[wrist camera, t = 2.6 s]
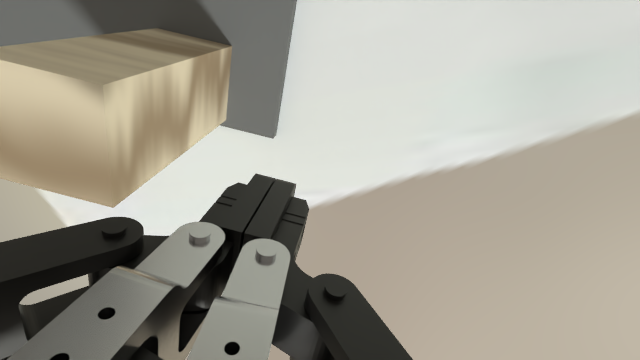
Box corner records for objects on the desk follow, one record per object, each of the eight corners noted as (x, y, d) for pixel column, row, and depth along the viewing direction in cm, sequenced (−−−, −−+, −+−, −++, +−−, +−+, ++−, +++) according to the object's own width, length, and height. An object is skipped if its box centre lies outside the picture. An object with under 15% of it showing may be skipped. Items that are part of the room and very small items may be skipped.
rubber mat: (-46, -101, 22) (-60, -104, 21) (299, -21, 21) (297, -22, 20) (-9, 64, 26) (-19, 66, 26) (275, 134, 26) (273, 138, 25)
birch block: (157, 28, 23) (-37, 50, 12) (232, 46, 23) (102, 85, 12) (158, 103, 25) (-4, 177, 14) (226, 120, 25) (113, 207, 14)
